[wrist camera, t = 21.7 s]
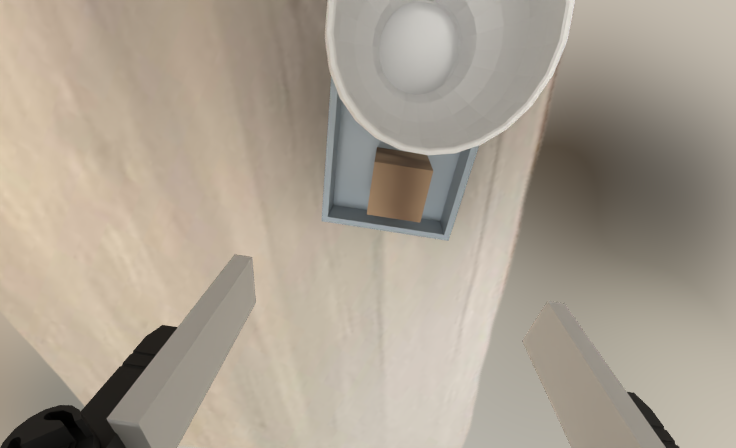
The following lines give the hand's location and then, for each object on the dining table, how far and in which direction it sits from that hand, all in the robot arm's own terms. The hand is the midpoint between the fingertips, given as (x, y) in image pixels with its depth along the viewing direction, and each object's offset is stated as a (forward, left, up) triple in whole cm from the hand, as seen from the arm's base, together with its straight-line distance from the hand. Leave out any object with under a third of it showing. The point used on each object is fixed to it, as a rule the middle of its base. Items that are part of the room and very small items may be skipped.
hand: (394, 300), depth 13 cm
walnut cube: (0, +1, -19) cm, 19 cm away
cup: (-11, 0, -19) cm, 22 cm away
